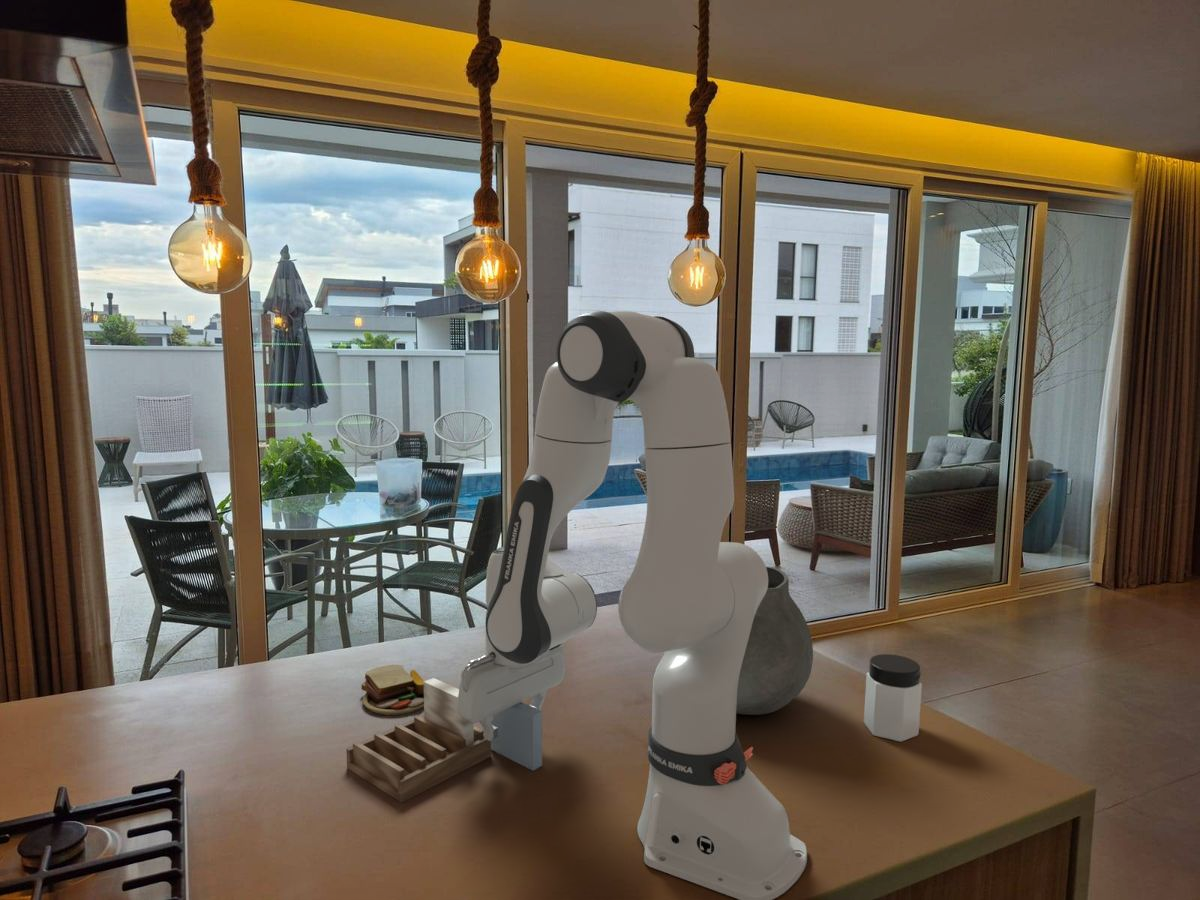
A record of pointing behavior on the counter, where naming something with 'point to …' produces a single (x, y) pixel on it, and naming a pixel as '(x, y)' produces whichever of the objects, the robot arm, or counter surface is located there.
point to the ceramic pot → (775, 652)
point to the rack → (421, 747)
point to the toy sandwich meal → (393, 690)
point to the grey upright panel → (519, 735)
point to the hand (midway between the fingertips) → (512, 727)
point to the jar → (893, 697)
